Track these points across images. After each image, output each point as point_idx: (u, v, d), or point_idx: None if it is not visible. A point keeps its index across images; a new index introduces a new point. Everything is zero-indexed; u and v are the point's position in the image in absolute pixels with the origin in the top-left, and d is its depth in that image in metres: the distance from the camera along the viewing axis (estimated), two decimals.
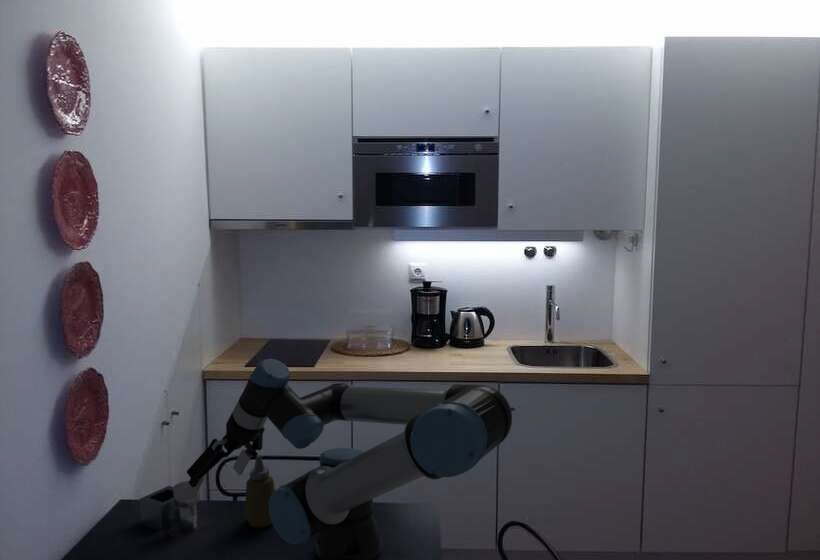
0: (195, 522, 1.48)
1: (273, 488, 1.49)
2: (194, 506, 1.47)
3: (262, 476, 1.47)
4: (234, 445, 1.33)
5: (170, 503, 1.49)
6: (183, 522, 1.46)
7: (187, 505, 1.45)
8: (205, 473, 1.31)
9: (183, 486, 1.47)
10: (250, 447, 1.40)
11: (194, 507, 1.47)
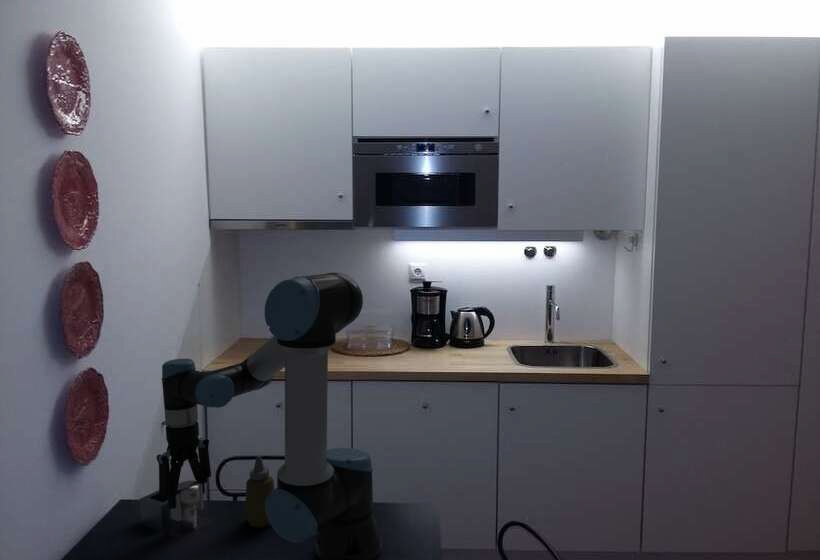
0: (195, 522, 1.48)
1: (273, 488, 1.49)
2: (194, 506, 1.47)
3: (262, 476, 1.47)
4: (180, 452, 1.44)
5: None
6: (183, 522, 1.46)
7: (187, 505, 1.45)
8: (175, 488, 1.43)
9: (183, 486, 1.47)
10: (198, 465, 1.49)
11: (194, 507, 1.47)
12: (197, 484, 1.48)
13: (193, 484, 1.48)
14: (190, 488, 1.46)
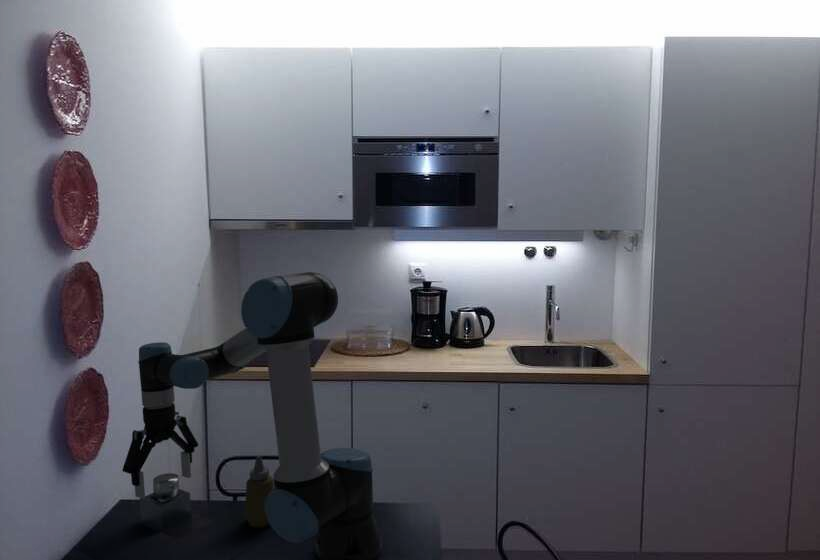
0: None
1: (273, 488, 1.49)
2: None
3: (262, 476, 1.47)
4: (156, 432, 1.48)
5: (170, 503, 1.49)
6: None
7: (166, 497, 1.50)
8: (140, 466, 1.45)
9: (163, 478, 1.52)
10: (181, 440, 1.55)
11: None
12: (177, 477, 1.52)
13: (173, 477, 1.53)
14: (170, 481, 1.50)
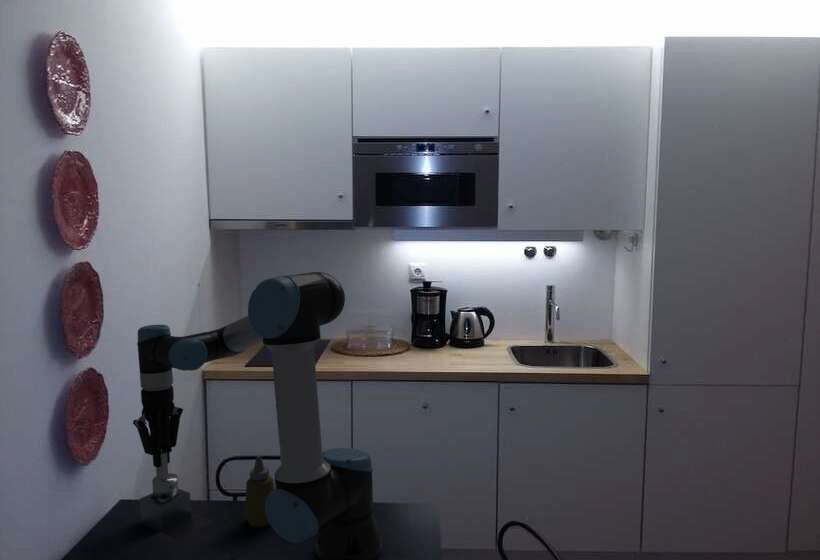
0: None
1: (273, 488, 1.49)
2: None
3: (262, 476, 1.47)
4: (155, 416, 1.48)
5: (170, 503, 1.49)
6: None
7: (166, 496, 1.50)
8: (159, 448, 1.50)
9: None
10: (167, 432, 1.51)
11: None
12: (176, 477, 1.53)
13: (172, 477, 1.53)
14: (169, 480, 1.51)
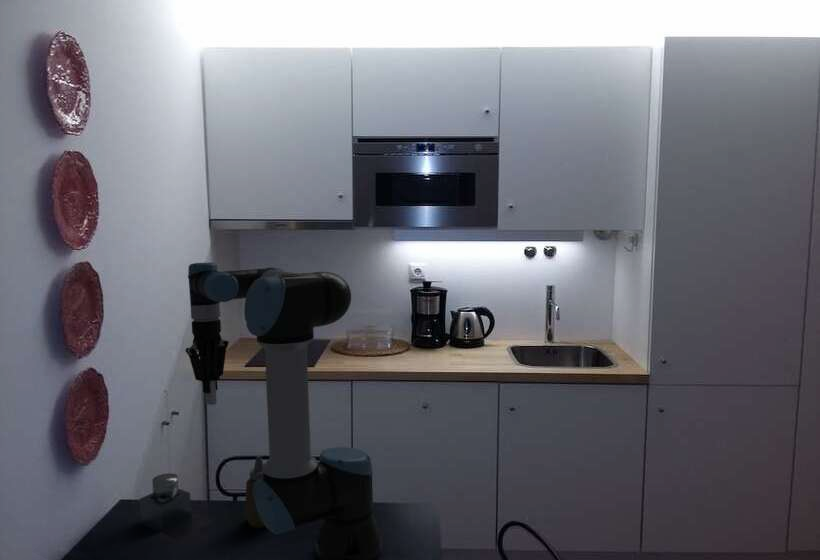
0: None
1: None
2: None
3: (262, 476, 1.47)
4: (205, 345, 1.62)
5: (170, 503, 1.49)
6: None
7: (166, 496, 1.50)
8: (208, 375, 1.63)
9: (162, 478, 1.52)
10: (215, 361, 1.65)
11: None
12: (176, 476, 1.53)
13: (172, 476, 1.53)
14: (169, 480, 1.51)
